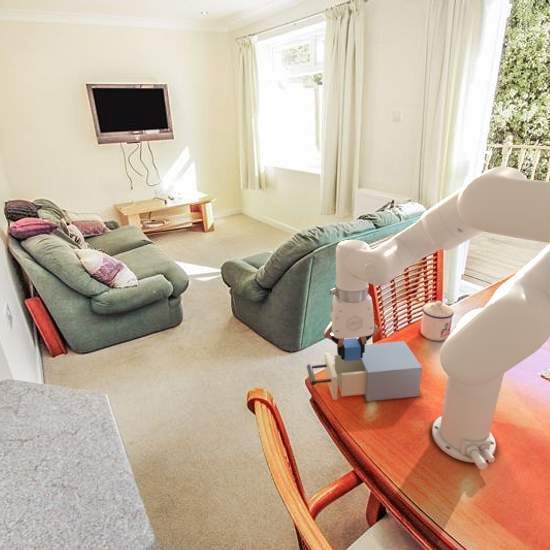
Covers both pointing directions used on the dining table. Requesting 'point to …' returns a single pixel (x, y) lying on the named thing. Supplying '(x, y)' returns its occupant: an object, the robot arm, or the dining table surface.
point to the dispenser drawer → (341, 376)
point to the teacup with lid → (436, 321)
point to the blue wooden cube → (352, 349)
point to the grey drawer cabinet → (391, 371)
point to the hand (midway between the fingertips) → (350, 355)
